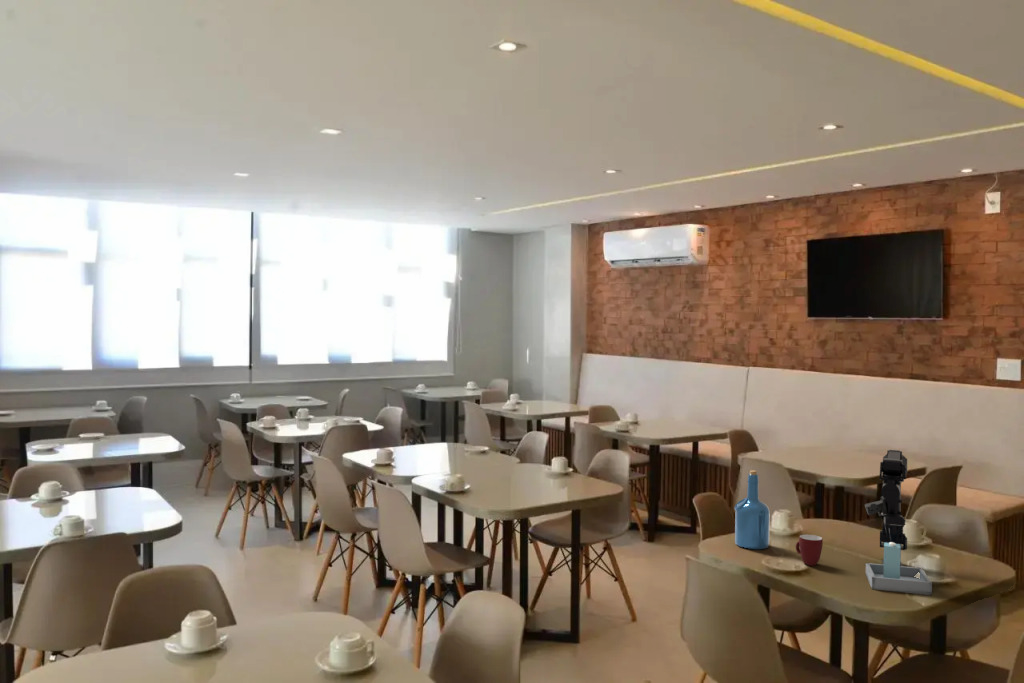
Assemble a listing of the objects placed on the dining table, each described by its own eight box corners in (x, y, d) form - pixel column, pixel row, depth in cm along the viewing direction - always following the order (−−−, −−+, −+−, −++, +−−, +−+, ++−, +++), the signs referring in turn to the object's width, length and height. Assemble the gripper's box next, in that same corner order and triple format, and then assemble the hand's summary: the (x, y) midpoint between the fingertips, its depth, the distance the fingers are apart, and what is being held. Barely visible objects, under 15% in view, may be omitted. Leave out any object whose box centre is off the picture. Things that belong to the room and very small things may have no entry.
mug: (788, 561, 294) (788, 535, 294) (801, 558, 299) (801, 532, 299) (813, 568, 286) (814, 541, 285) (826, 565, 290) (827, 538, 290)
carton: (883, 578, 272) (884, 539, 272) (899, 580, 270) (900, 541, 270) (883, 582, 268) (884, 542, 268) (899, 584, 266) (900, 544, 266)
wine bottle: (766, 542, 321) (767, 468, 320) (772, 551, 308) (773, 474, 307) (731, 540, 323) (732, 467, 322) (736, 549, 310) (737, 473, 309)
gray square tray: (865, 574, 280) (865, 562, 280) (921, 579, 275) (921, 568, 275) (871, 589, 264) (872, 577, 264) (931, 595, 259) (932, 583, 259)
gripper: (863, 488, 289) (862, 530, 289) (870, 498, 271) (869, 544, 272) (896, 490, 286) (895, 533, 286) (906, 501, 268) (905, 547, 268)
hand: (890, 539), depth 278 cm, fingers open, 9 cm apart
